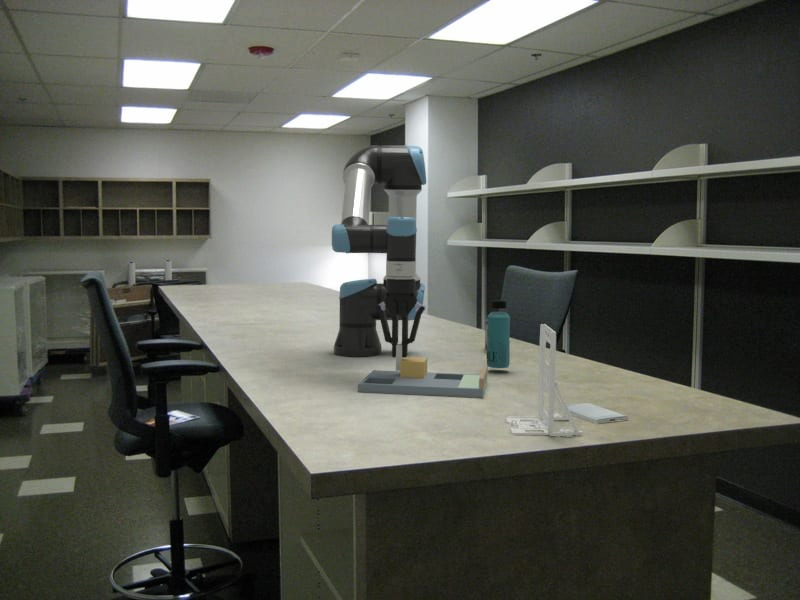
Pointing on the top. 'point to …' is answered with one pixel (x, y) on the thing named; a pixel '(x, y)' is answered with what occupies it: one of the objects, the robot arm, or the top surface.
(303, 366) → the top surface
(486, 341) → the brown semicircular wedge
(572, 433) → the white bracket stand
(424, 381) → the board
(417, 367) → the ochre block
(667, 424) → the top surface
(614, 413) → the hard drive
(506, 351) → the beverage bottle
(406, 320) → the robot arm
